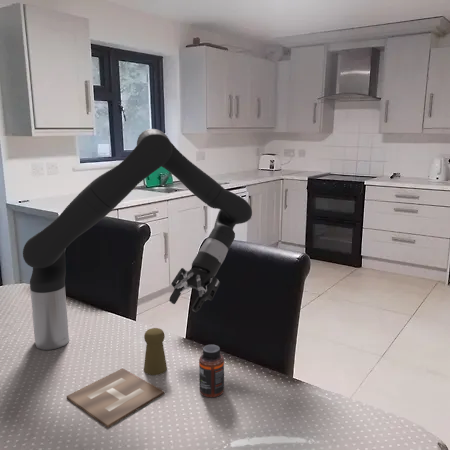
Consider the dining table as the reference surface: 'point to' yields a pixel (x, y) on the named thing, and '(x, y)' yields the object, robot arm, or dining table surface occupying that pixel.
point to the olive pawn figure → (154, 352)
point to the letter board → (115, 396)
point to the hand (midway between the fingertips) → (182, 306)
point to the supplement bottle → (211, 371)
